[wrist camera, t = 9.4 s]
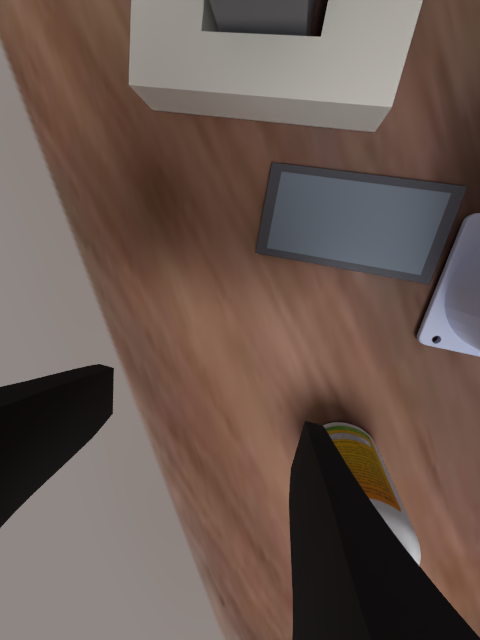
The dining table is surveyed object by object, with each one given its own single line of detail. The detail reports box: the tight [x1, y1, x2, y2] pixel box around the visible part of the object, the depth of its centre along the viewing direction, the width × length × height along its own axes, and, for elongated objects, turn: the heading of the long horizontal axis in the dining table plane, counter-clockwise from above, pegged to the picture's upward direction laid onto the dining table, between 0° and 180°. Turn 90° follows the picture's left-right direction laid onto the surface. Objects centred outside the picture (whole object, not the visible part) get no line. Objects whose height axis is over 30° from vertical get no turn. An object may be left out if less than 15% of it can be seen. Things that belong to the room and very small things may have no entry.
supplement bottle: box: [322, 422, 421, 565], centre depth 15 cm, size 5×5×10 cm
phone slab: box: [255, 162, 468, 284], centre depth 16 cm, size 6×11×1 cm, turn 80°
